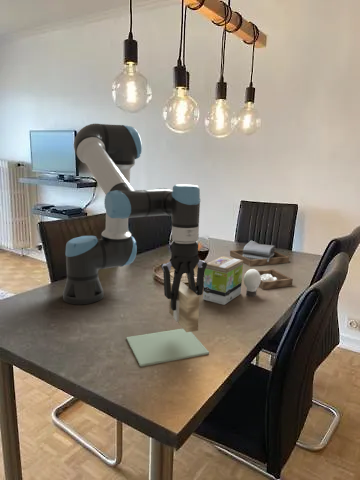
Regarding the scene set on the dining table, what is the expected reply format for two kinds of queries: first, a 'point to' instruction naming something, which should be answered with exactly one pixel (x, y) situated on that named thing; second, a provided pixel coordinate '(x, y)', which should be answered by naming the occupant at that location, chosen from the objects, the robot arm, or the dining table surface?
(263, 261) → the frame
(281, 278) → the rose frame
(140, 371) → the dining table surface
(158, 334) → the mat
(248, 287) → the light bulb
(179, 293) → the tan rectangular box
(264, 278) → the rose
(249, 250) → the towel
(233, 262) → the tea box
